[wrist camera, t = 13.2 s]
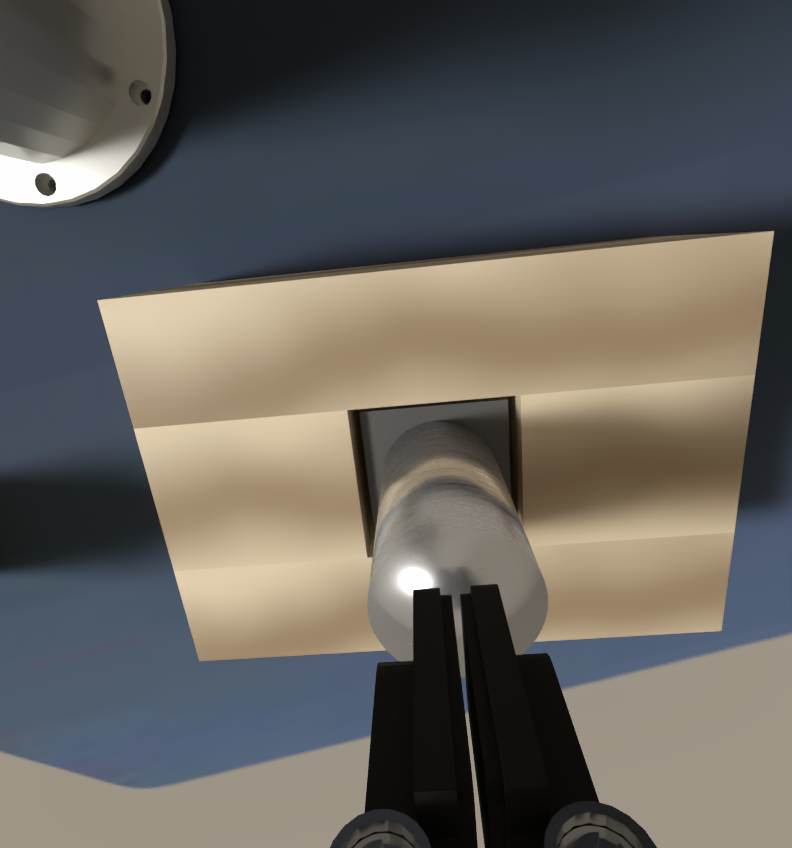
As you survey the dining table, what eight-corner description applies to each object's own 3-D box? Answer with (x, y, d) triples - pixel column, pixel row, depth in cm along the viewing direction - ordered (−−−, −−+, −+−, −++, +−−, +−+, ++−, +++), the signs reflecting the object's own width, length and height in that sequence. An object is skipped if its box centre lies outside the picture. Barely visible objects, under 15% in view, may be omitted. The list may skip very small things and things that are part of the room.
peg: (376, 425, 17) (356, 535, 11) (494, 415, 17) (548, 521, 11) (389, 528, 19) (377, 682, 12) (499, 520, 18) (548, 672, 12)
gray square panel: (361, 405, 18) (359, 412, 17) (503, 392, 18) (508, 399, 17) (377, 528, 20) (375, 540, 19) (507, 519, 19) (511, 530, 19)
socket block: (199, 283, 23) (97, 300, 16) (649, 236, 22) (773, 230, 14) (257, 548, 28) (199, 660, 20) (633, 521, 27) (721, 630, 19)
